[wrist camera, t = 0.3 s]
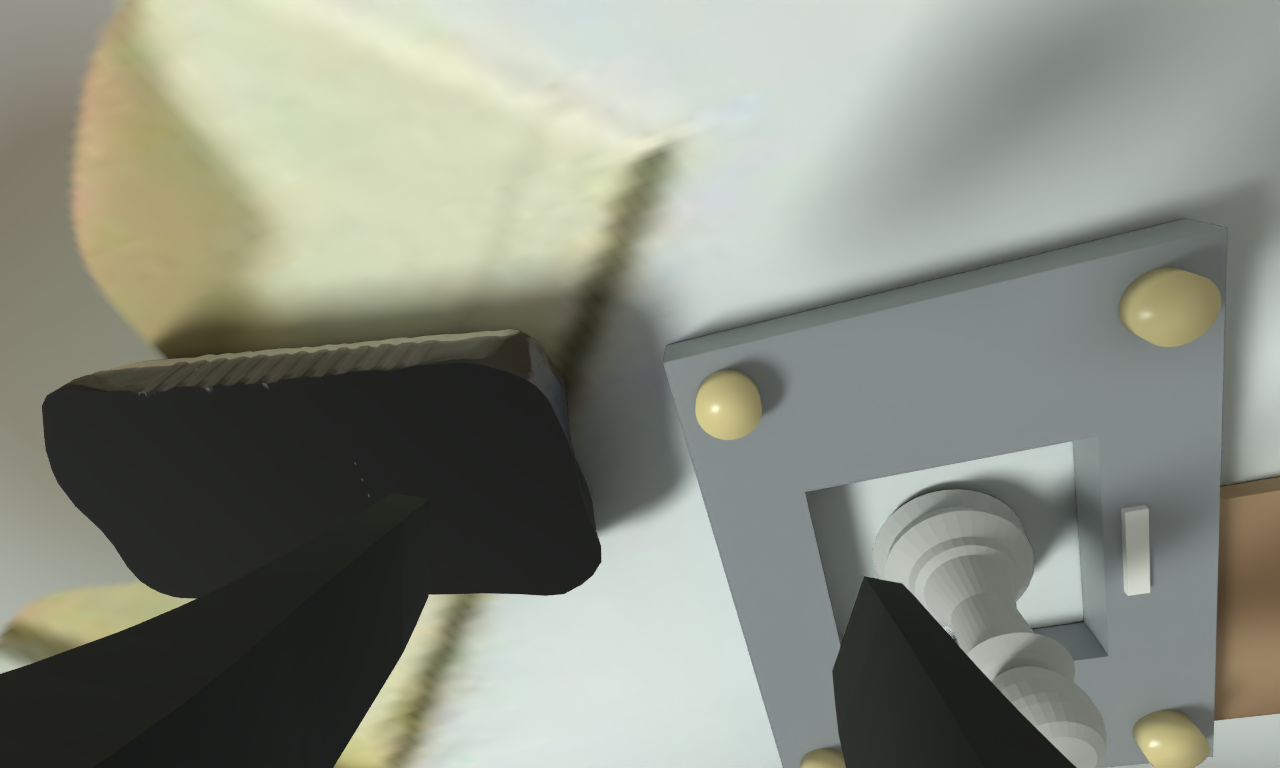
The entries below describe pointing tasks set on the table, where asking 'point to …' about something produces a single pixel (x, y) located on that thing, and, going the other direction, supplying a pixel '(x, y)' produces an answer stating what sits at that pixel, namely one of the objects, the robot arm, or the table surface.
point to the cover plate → (978, 428)
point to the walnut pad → (1248, 601)
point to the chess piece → (990, 608)
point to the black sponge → (331, 459)
